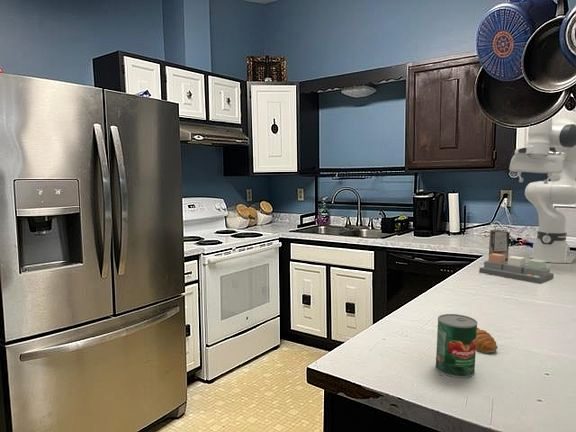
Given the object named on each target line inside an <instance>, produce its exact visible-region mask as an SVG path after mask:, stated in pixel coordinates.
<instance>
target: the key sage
mask: <svg viewBox="0 0 576 432" xmlns="http://www.w3.org/2000/svg"><path fill="white" fill-rule="evenodd" d="M527 265H528V268H531V269H537V270H544V269H546V268H547V267H546V266H547V262H546V261H544V260H537V259H533V258H530V259H528V263H527Z"/></svg>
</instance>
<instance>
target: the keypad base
mask: <svg viewBox="0 0 576 432" xmlns="http://www.w3.org/2000/svg"><path fill="white" fill-rule="evenodd" d="M483 265H484V266H482V267H479V271H478V272H479V273H480V274H485V275H490V276H496V277H503V278H506V279H507V278H508V279H513V280H516V281H517V280H518V281H524V282H529V283H533V284H534V283H535V284H539V285H541V284H543V283H546V282H547V281H550V280H553V279H554V275H555V273H553V272H551V268H549V267H546V269H544V270H537V269H531V268H528V264H525V266H521V267H518V266H512V265H508V262H506V261H505V262H504V263H501V264H500V263H494V262H489V259H488V260H485V261H484V262H483Z"/></svg>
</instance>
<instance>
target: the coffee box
mask: <svg viewBox="0 0 576 432" xmlns="http://www.w3.org/2000/svg"><path fill="white" fill-rule="evenodd" d="M488 243H489V245H488V255H489V254H493V253H496V254H503V255H505V261H506V262H508V257H509V249H510V248H509V247H510V232H509V231H507V230H504V229H503V230H502V229H489V242H488Z"/></svg>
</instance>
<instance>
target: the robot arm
mask: <svg viewBox="0 0 576 432" xmlns="http://www.w3.org/2000/svg"><path fill="white" fill-rule="evenodd" d="M527 135H528V136H527V137H528V140H527V143H526V146H523V147H518V148H516V149H514V155H513V156H512V157H511V160H510V163H509V168H508V169H509V171H510V172H515V173H516V172H517V176H518V178H519V180H518V183H524V177H522V173H533V174H534V173H535V174H547V178H546V179H543V180H538V181H533V182H529V183H528V184H527V185H526V187H525V190H524V196H525V198H526V199H527V201H529V202H530V203H531V204H532V205H533V206H534V208H535V210H536V211H537V215H538V230H537V233H536V238H537V239H536V240H535V241H533V243H532V244H533V246H532V254H529V256H528V258H530V259H537V260H544V261H546V263H553V264H554V263H557V264H572V263H573V262H574V260H575V256H570V252H571V251H570V250H571V249H570V246H569V244H568V243H567V241H566V240H567V236H568V235H567V232H566V222H567V219H566V216H565V215H564V213H562V212H560V211H558V210H556V209H555V208H554V205H576V117H573V116H564V117H560V118H558V119H556V120H554V121H553V117H552V118H551V119H550V120H548V121H546V122H544V123H542V124H539V125H536V126H533V127H528V133H527Z"/></svg>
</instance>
